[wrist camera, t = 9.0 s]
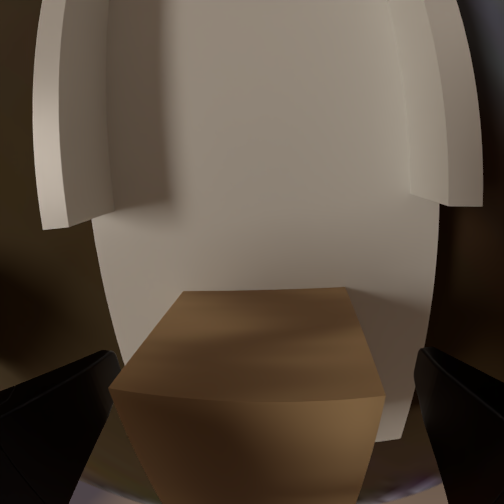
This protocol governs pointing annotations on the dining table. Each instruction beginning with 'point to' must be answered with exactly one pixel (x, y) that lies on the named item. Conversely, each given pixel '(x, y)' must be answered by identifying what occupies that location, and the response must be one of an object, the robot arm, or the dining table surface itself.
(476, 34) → the dining table surface
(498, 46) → the dining table surface
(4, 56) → the dining table surface
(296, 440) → the oak block
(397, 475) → the dining table surface
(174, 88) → the trap channel
